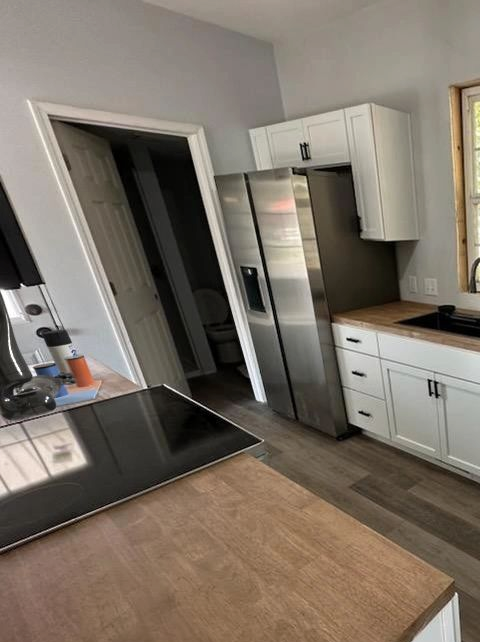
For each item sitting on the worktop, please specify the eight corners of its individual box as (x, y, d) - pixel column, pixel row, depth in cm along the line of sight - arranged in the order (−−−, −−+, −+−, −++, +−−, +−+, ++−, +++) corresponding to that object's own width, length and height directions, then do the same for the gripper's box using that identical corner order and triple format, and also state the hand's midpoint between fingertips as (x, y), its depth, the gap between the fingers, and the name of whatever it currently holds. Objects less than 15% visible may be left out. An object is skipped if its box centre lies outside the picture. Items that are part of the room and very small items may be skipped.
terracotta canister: (75, 388, 151) (62, 359, 147) (77, 384, 154) (65, 356, 151) (94, 384, 154) (82, 356, 150) (96, 381, 157) (84, 353, 154)
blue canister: (45, 400, 136) (30, 368, 132) (48, 395, 140) (34, 365, 136) (67, 395, 139) (53, 365, 135) (70, 391, 143) (56, 361, 139)
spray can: (85, 381, 159) (64, 331, 152) (61, 385, 156) (38, 334, 149) (90, 377, 164) (69, 328, 157) (66, 381, 161) (44, 331, 154)
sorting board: (35, 410, 133) (34, 409, 133) (50, 391, 151) (49, 389, 150) (94, 399, 141) (93, 397, 141) (101, 381, 159) (101, 380, 159)
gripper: (68, 373, 130) (76, 361, 142) (0, 384, 121) (15, 371, 134) (78, 394, 132) (85, 382, 145) (12, 407, 124) (26, 392, 137)
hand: (51, 376), depth 139 cm, fingers closed on blue canister, 5 cm apart
